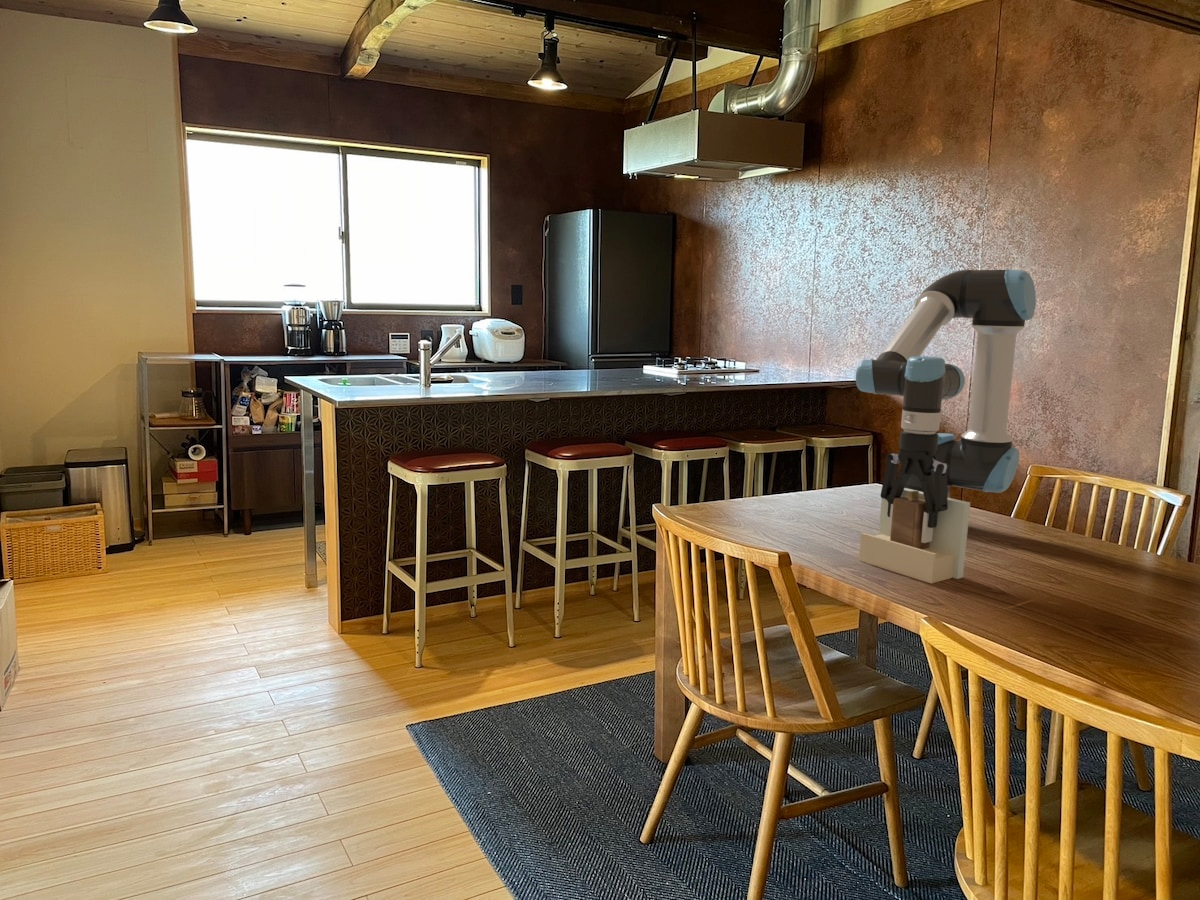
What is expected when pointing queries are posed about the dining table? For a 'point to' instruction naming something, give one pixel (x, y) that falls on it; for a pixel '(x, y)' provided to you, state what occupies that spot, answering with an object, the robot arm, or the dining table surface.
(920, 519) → the wooden block with peg
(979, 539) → the dining table surface
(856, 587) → the dining table surface
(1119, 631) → the dining table surface
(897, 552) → the wall board
